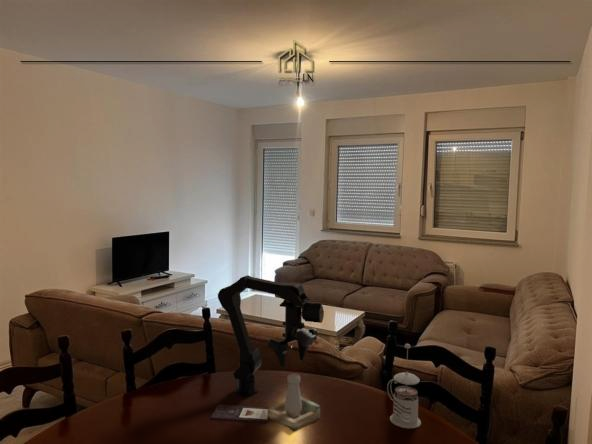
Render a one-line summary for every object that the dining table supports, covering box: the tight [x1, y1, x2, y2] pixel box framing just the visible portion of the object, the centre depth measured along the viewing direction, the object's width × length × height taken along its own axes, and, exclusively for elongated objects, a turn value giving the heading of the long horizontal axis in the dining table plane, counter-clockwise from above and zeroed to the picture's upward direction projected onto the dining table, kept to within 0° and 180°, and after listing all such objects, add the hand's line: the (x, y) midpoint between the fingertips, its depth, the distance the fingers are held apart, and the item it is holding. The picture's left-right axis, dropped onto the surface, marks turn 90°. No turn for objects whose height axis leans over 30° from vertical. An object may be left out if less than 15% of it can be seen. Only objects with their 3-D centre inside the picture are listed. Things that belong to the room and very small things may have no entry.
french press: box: [386, 343, 422, 429], centre depth 138 cm, size 10×12×25 cm
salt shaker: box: [284, 373, 302, 418], centre depth 138 cm, size 6×6×13 cm
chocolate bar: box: [210, 403, 270, 424], centre depth 140 cm, size 9×1×18 cm
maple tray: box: [268, 396, 321, 432], centre depth 138 cm, size 12×12×4 cm
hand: (292, 363), depth 150 cm, fingers open, 9 cm apart
